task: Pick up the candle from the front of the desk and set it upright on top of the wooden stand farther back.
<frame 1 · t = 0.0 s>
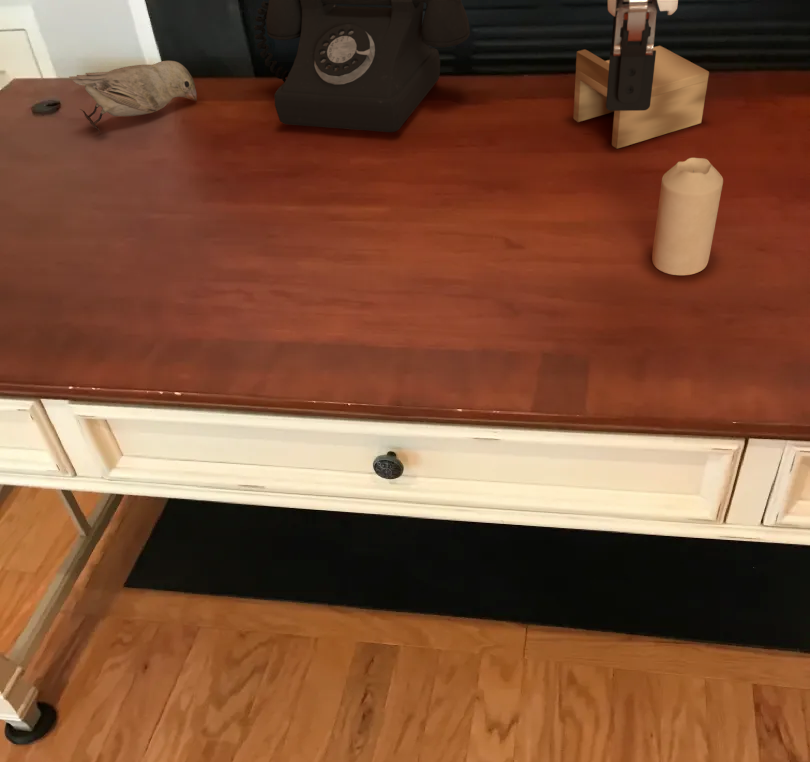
hand: (629, 81, 70), 21 cm above the table, tool pointing down, fingers open, 9 cm apart
decorative bird: (144, 118, 126), on the table
candle: (679, 262, 90), on the table
rotary telephone: (355, 107, 122), on the table
wooden stand: (636, 121, 112), on the table
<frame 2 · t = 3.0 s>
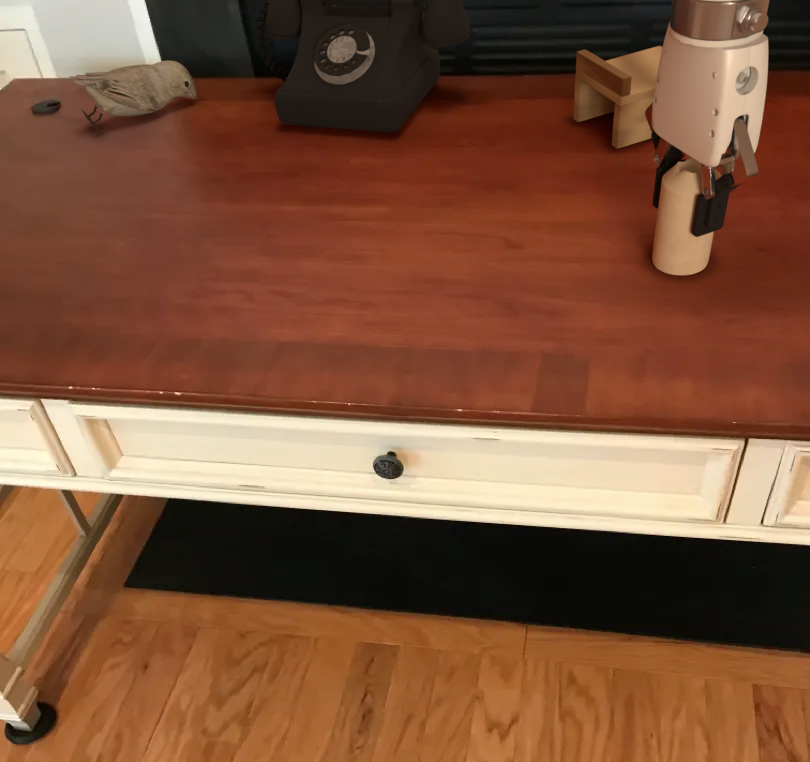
hand: (686, 215, 87), 5 cm above the table, tool pointing down, fingers closed on candle, 5 cm apart
candle: (679, 262, 90), on the table, touching gripper
everything else where it was.
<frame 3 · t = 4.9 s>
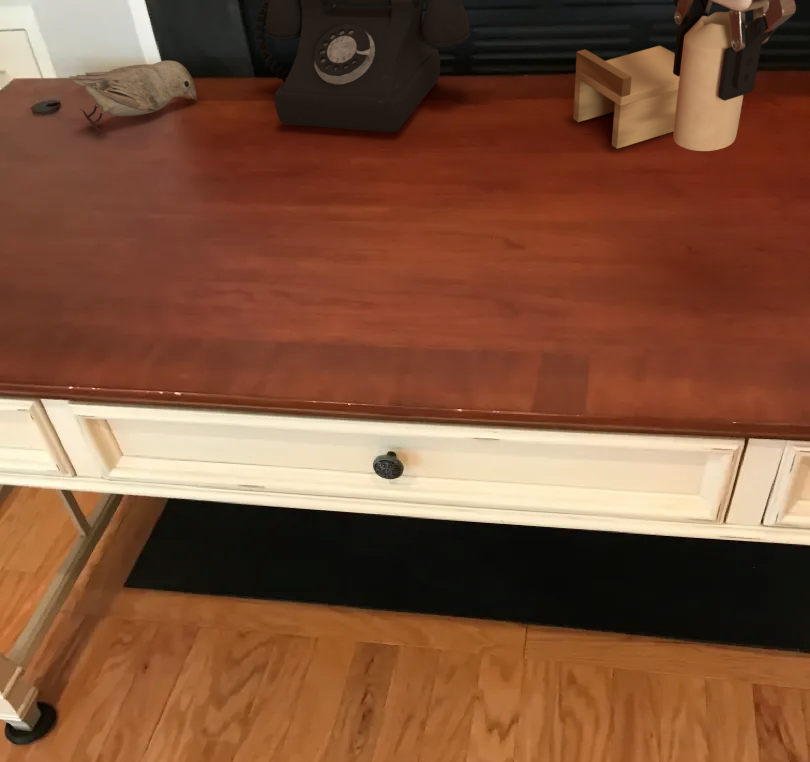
hand: (712, 81, 78), 17 cm above the table, tool pointing down, fingers closed on candle, 5 cm apart
candle: (703, 140, 81), point 12 cm above the table, touching gripper
everything else where it was.
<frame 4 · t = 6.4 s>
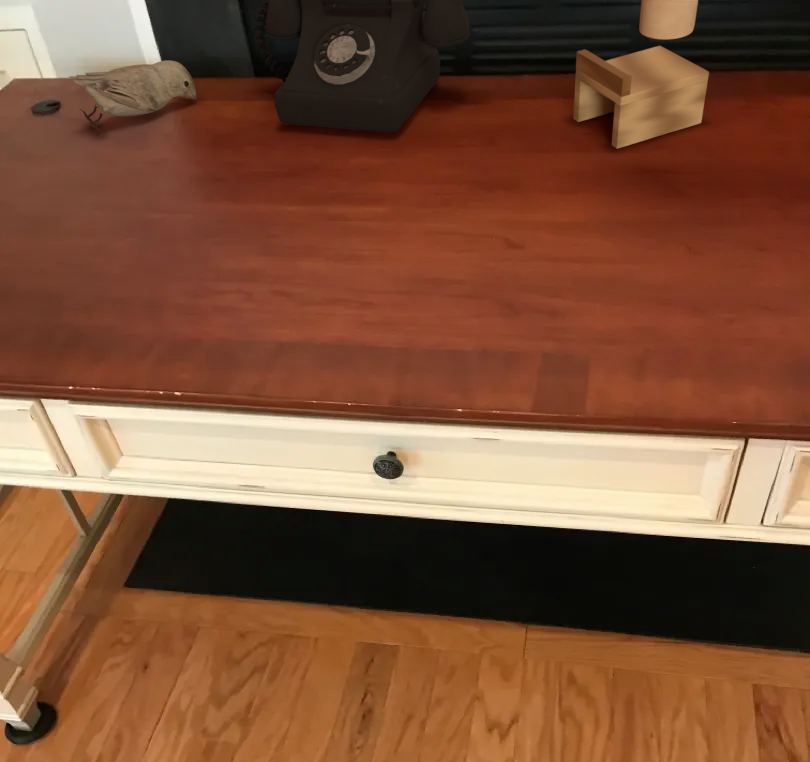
candle: (665, 32, 93), point 15 cm above the table, touching gripper
everything else where it was.
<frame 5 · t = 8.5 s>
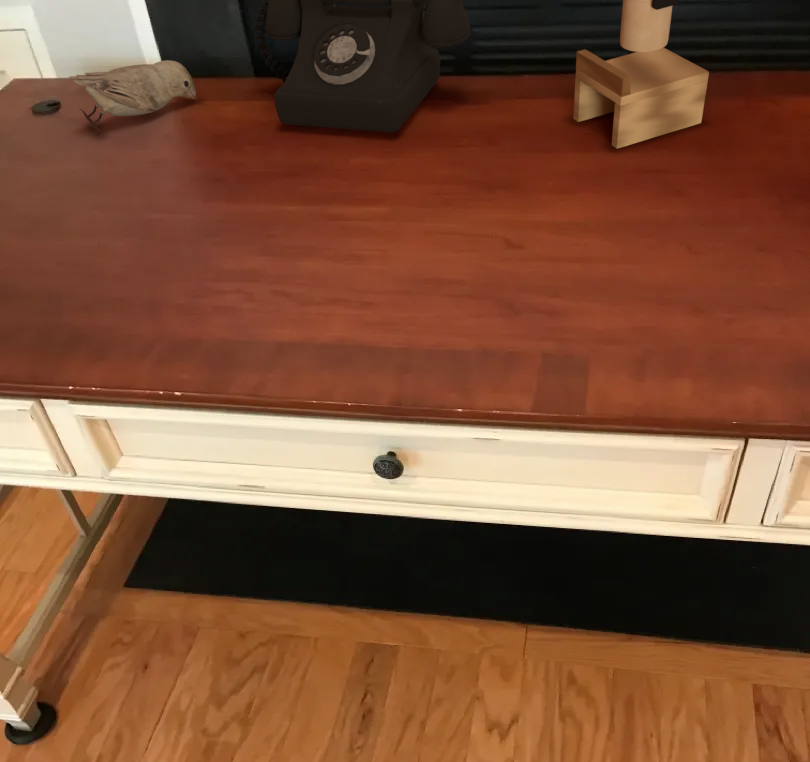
candle: (643, 45, 105), point 9 cm above the table, touching gripper
everything else where it was.
when the fingers open (11 cm above the table, at t = 9.8 s): candle stays where it is, resting on wooden stand.
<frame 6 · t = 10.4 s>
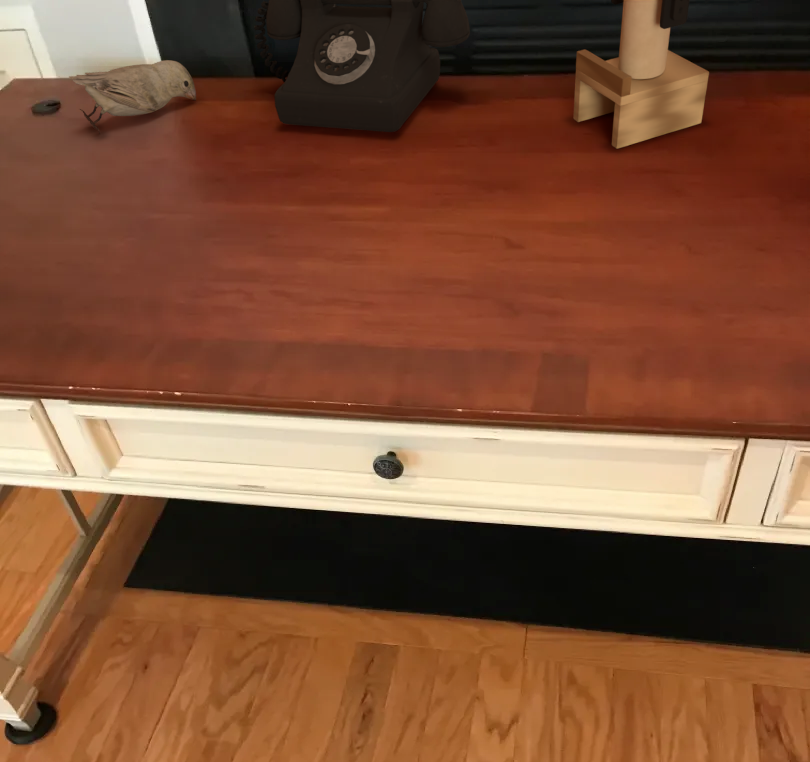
hand: (647, 13, 103), 12 cm above the table, tool pointing down, fingers open, 9 cm apart
candle: (641, 72, 107), point 6 cm above the table, touching wooden stand
everything else where it was.
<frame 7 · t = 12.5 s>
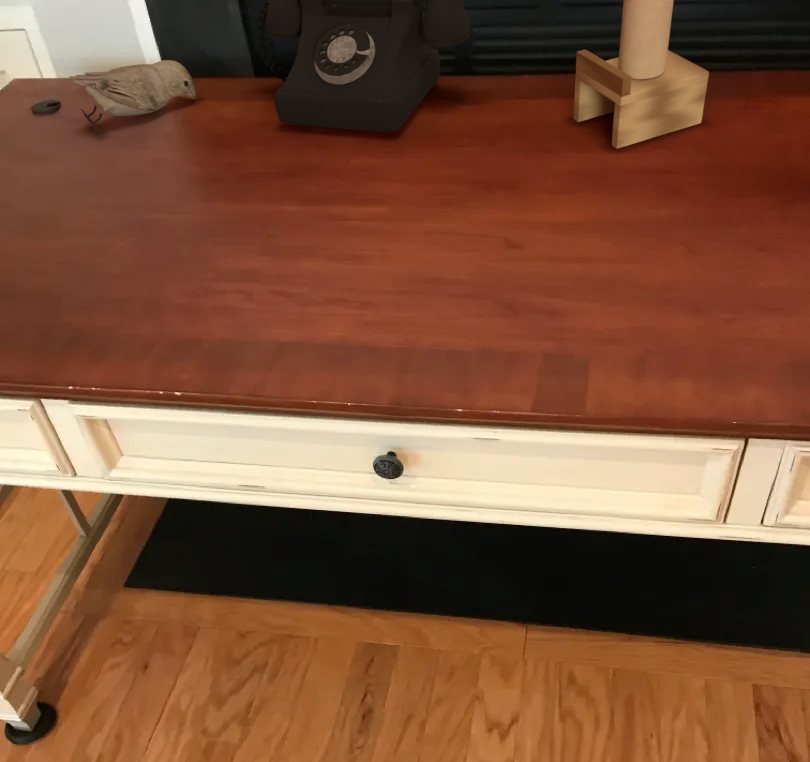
nothing on the table moved.
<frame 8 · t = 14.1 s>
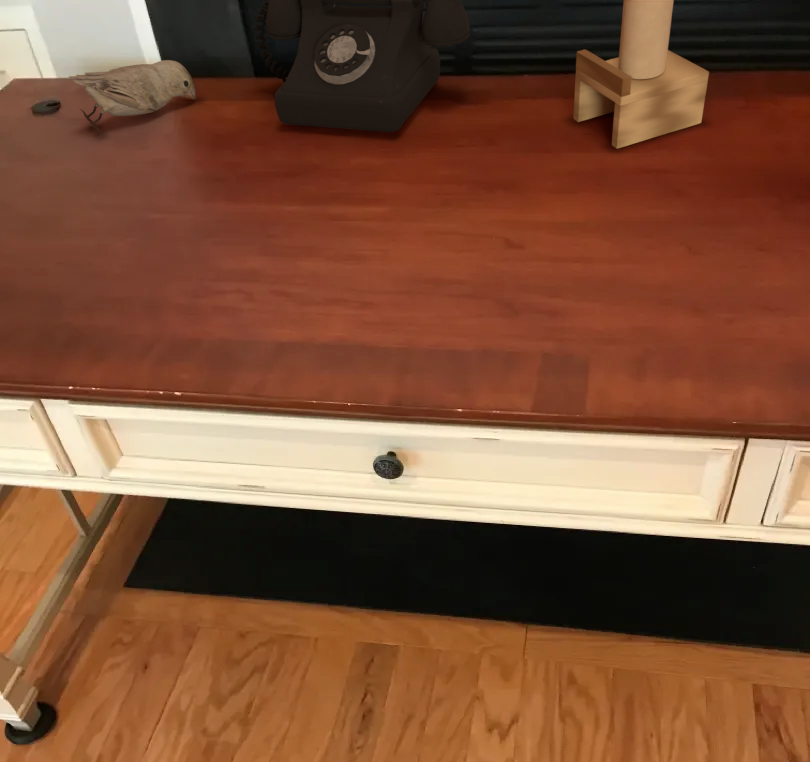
nothing on the table moved.
at the end: candle inside the target area on the wooden stand (0.1 cm from its centre), point 5.8 cm above the wooden stand's base; candle tilted 0°; the gripper is holding nothing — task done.
